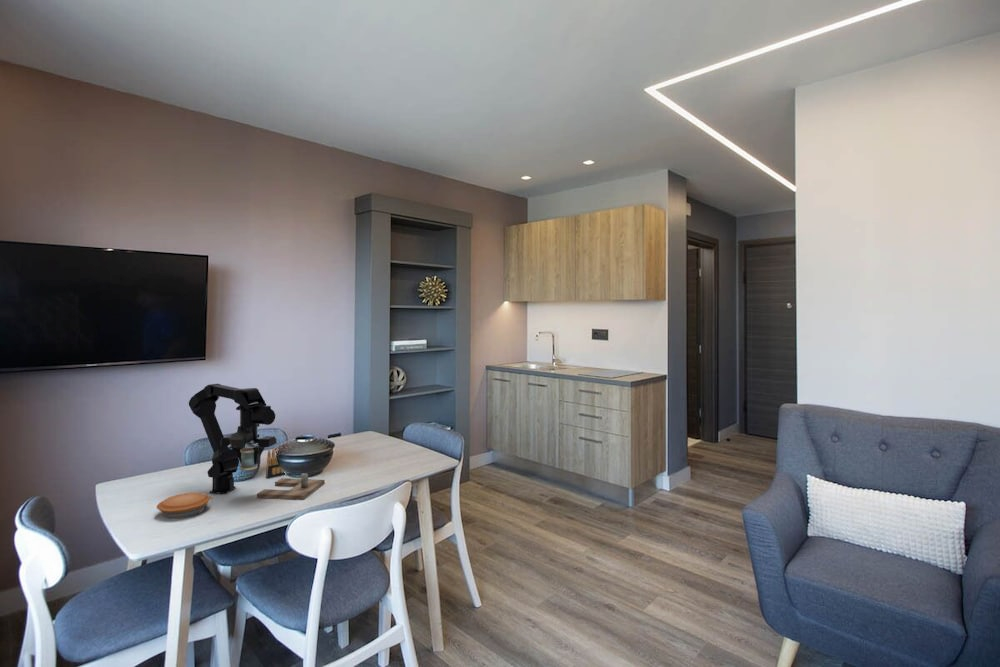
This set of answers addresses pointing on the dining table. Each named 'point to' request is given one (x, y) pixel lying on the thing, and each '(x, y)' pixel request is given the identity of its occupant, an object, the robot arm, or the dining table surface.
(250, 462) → the thread spool
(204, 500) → the pie
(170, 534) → the dining table surface
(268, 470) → the ammunition clip
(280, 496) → the walnut notched board
